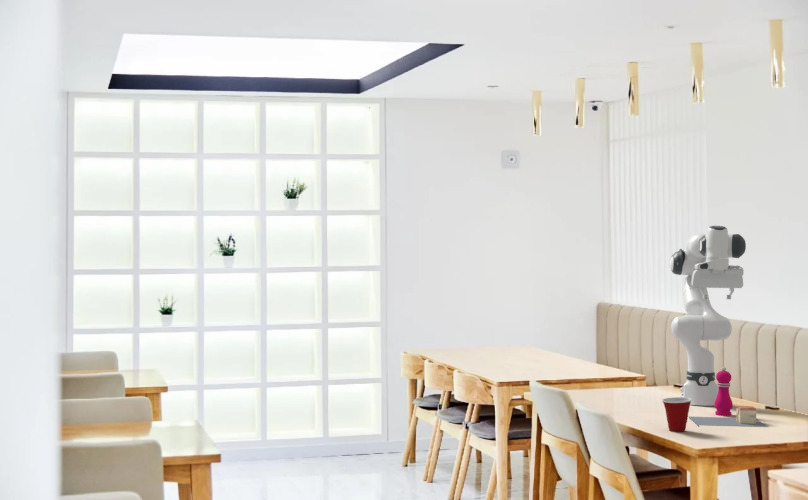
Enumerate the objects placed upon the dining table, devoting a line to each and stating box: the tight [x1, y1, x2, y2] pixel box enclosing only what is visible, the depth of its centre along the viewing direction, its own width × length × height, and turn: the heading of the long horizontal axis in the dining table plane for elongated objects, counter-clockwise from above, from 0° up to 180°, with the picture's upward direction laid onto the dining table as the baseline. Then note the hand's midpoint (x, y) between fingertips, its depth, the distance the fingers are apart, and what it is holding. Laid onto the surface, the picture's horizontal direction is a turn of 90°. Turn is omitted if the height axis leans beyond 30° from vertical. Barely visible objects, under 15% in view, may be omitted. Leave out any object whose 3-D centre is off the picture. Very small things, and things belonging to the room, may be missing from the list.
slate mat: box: [688, 416, 769, 428], centre depth 375 cm, size 20×26×1 cm
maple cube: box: [735, 404, 757, 424], centre depth 374 cm, size 6×6×6 cm
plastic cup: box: [661, 396, 692, 433], centre depth 356 cm, size 11×11×12 cm
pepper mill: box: [713, 366, 734, 417], centre depth 391 cm, size 7×7×20 cm
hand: (716, 299), depth 393 cm, fingers open, 8 cm apart
